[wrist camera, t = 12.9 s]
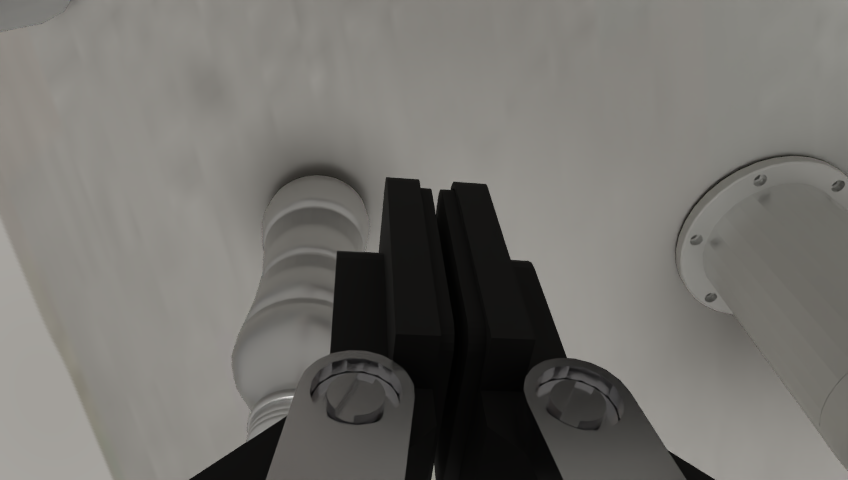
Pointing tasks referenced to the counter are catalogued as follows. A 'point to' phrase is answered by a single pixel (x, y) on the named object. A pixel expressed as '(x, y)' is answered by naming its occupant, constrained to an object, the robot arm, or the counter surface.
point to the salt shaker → (28, 12)
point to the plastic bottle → (295, 292)
